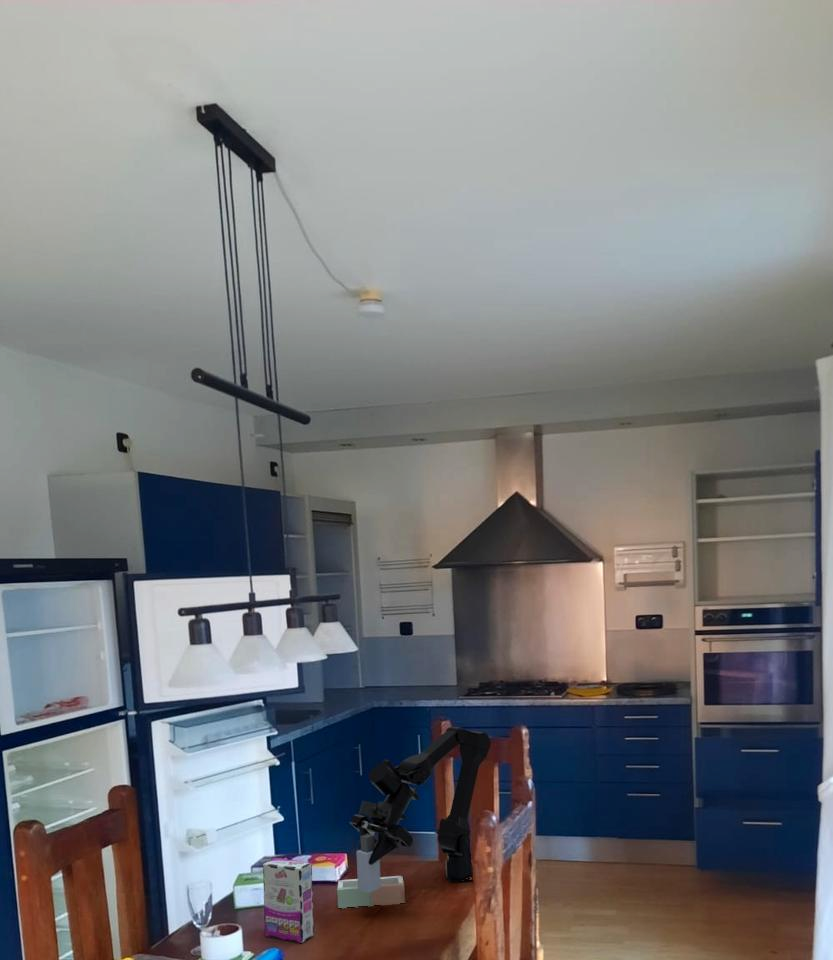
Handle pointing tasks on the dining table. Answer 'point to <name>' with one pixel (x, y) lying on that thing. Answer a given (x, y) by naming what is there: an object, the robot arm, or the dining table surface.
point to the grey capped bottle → (367, 866)
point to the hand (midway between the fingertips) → (364, 862)
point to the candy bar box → (288, 900)
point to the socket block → (371, 893)
